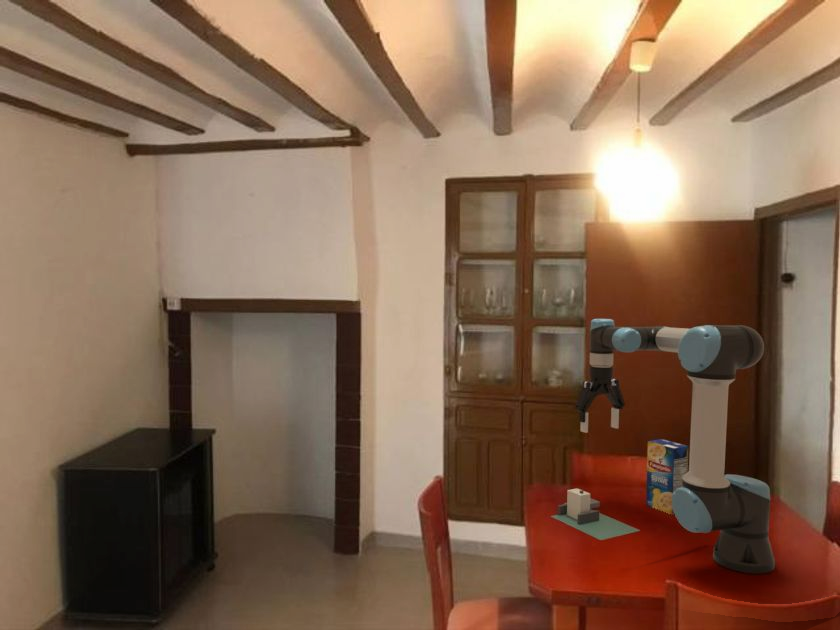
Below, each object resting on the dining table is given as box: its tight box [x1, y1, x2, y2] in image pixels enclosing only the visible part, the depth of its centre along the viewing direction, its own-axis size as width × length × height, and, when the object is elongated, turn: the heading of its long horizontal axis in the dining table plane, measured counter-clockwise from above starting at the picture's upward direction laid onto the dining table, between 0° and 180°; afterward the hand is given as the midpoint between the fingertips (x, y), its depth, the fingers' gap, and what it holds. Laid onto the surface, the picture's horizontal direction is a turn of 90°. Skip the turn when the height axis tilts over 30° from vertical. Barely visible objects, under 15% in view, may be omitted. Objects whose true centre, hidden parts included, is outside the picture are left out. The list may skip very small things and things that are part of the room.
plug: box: [566, 488, 591, 520], centre depth 214 cm, size 7×4×9 cm, turn 29°
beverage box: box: [645, 438, 689, 516], centre depth 227 cm, size 7×11×22 cm, turn 30°
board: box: [550, 502, 641, 541], centre depth 209 cm, size 23×16×4 cm
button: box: [590, 497, 601, 510], centre depth 225 cm, size 7×7×3 cm
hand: (599, 429), depth 224 cm, fingers open, 13 cm apart
